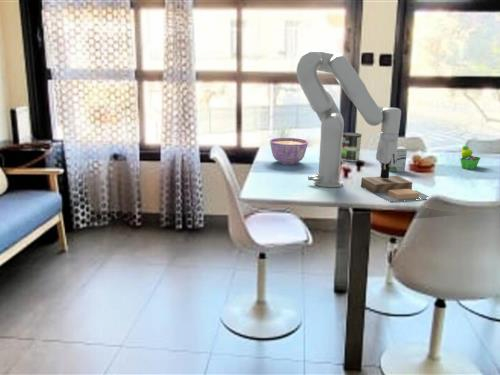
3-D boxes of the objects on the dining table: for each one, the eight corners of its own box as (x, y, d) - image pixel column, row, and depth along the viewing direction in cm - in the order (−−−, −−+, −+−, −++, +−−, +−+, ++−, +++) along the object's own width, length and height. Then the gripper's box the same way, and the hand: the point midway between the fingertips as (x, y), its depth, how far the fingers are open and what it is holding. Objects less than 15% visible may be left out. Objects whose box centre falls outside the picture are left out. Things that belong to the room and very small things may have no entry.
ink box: (389, 171, 259) (391, 148, 256) (384, 169, 264) (387, 146, 261) (405, 171, 261) (407, 148, 258) (400, 169, 266) (403, 146, 263)
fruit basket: (473, 170, 267) (476, 149, 264) (456, 167, 272) (459, 146, 269) (479, 166, 275) (482, 145, 272) (462, 164, 281) (465, 143, 278)
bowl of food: (308, 167, 263) (310, 145, 260) (269, 166, 264) (270, 144, 261) (305, 159, 283) (306, 138, 280) (268, 158, 283) (269, 137, 280)
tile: (388, 190, 218) (388, 194, 218) (397, 194, 211) (397, 199, 212) (409, 188, 220) (408, 193, 221) (418, 193, 214) (418, 197, 215)
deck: (374, 193, 220) (375, 184, 219) (360, 186, 232) (361, 177, 230) (411, 191, 225) (412, 182, 224) (396, 184, 237) (397, 175, 235)
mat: (390, 202, 209) (390, 201, 209) (375, 193, 220) (375, 193, 220) (432, 199, 215) (433, 198, 214) (416, 191, 226) (416, 190, 225)
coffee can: (347, 162, 279) (349, 136, 275) (336, 158, 288) (338, 132, 284) (363, 160, 283) (365, 135, 279) (352, 156, 292) (354, 131, 288)
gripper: (373, 133, 229) (368, 173, 234) (390, 140, 216) (385, 182, 221) (388, 133, 231) (383, 173, 236) (406, 139, 217) (400, 182, 222)
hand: (384, 177), depth 228 cm, fingers closed
